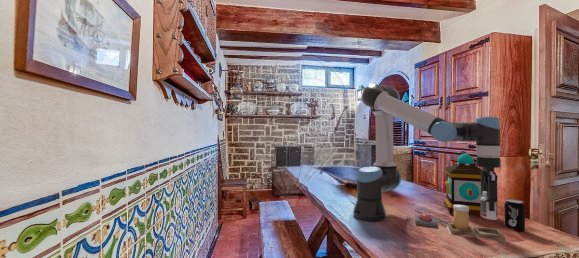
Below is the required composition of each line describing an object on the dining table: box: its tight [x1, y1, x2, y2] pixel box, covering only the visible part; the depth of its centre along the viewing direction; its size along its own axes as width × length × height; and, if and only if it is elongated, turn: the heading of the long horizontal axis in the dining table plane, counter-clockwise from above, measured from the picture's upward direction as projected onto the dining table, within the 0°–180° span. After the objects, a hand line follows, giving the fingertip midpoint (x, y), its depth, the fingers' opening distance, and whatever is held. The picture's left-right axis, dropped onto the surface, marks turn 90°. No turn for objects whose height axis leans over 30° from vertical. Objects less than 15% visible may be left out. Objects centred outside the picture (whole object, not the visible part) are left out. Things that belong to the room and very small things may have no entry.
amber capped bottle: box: [453, 205, 470, 231], centre depth 106 cm, size 5×5×10 cm
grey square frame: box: [414, 214, 438, 228], centre depth 116 cm, size 8×8×3 cm
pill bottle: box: [480, 191, 499, 220], centre depth 102 cm, size 5×5×10 cm
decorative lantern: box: [442, 153, 483, 216], centre depth 136 cm, size 20×20×30 cm
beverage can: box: [503, 198, 526, 233], centre depth 112 cm, size 7×7×12 cm
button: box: [419, 212, 432, 221], centre depth 116 cm, size 4×4×4 cm
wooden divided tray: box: [446, 222, 508, 243], centre depth 104 cm, size 18×10×3 cm, turn 66°
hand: (488, 216), depth 102 cm, fingers closed on pill bottle, 5 cm apart
